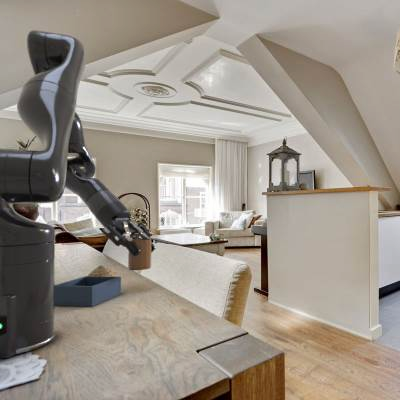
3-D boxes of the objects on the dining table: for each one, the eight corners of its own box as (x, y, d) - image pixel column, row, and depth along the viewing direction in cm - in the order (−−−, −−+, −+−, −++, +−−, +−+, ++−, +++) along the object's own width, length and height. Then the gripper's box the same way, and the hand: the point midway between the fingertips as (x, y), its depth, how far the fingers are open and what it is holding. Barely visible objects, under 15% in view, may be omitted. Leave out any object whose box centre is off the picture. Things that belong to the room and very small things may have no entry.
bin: (92, 306, 73) (92, 286, 73) (51, 305, 74) (52, 285, 74) (120, 294, 83) (121, 276, 83) (85, 293, 84) (85, 276, 84)
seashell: (123, 269, 104) (108, 264, 97) (119, 286, 102) (103, 282, 94) (100, 269, 105) (83, 263, 97) (95, 286, 102) (77, 282, 95)
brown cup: (143, 270, 84) (143, 240, 84) (123, 270, 84) (123, 240, 84) (155, 266, 89) (155, 238, 89) (136, 266, 90) (136, 238, 90)
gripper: (96, 199, 81) (136, 246, 79) (134, 200, 95) (169, 240, 93) (78, 219, 82) (117, 266, 80) (119, 217, 96) (153, 257, 94)
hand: (145, 252), depth 86 cm, fingers closed on brown cup, 5 cm apart
